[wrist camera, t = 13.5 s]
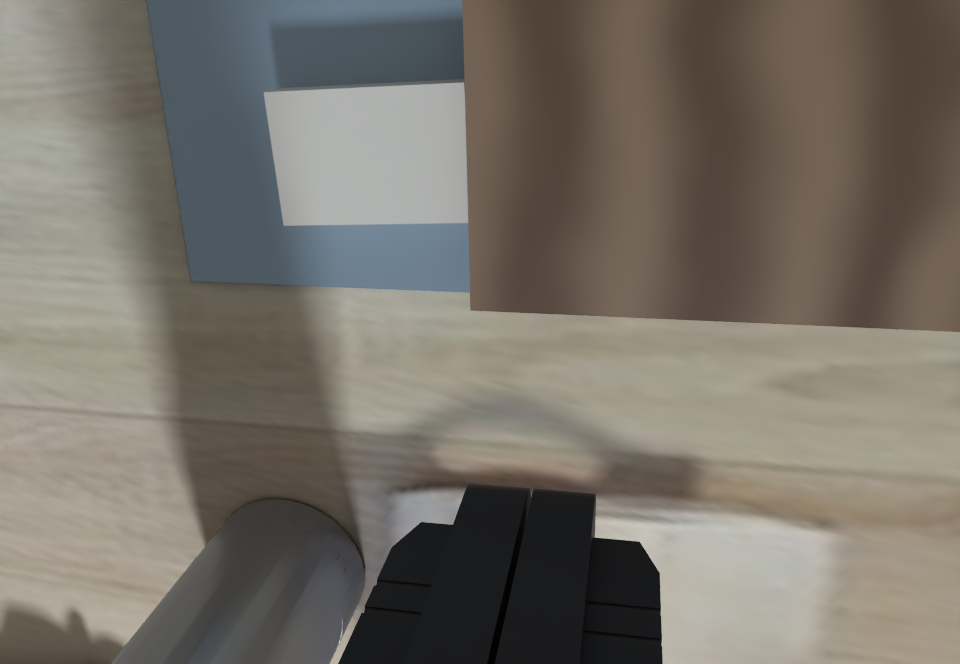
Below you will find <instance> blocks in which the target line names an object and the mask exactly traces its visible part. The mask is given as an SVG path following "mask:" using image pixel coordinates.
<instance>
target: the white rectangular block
mask: <svg viewBox="0 0 960 664" xmlns="http://www.w3.org/2000/svg"><path fill="white" fill-rule="evenodd" d="M264 99H265V106H266V112H267V119H268V125H269V132H270V139H271V145H272V152H273V159H274V165H275V172H276V179H277V185H278V192H279V199H280V205H281V212H282V218H283V225H284V226H304V225H371V224H438V223H468V193H467V155H466V118H465V80H464V79H453V80H433V81H413V82H392V83H372V84H352V85H332V86H311V87H291V88H280V89H275V90H271V91H266V92H264Z"/></svg>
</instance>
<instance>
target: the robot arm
mask: <svg viewBox="0 0 960 664" xmlns="http://www.w3.org/2000/svg"><path fill="white" fill-rule="evenodd" d="M595 510H596V494H592V493H579V492H567V491H555V490H543V489H534V491H533V494H532V498H531V491H530V489H528V488H516V487H503V486H491V485H479V484H469V485H468V486H467V488H466V491H465V493H464V496H463V499H462V502H461V504H460V507H459V510H458V513H457V515H456V518H455V521H454V524H453V525H447V524H436V523H425V522H421V523H420V524H419V525H417V526H416V527H415V528H414V529H413V530H412V531H410V532H409V533H408V534H407V535H406V536H405V537H403V538H402V539H401V540H400V541H399V542H398V543H396V544H395V545H394V546H393V547H392V548H391V550H390V553H389V555H388V557H387V559H386V561H385V563H384V566H383V568H382V570H381V572H380V574H379V576H378V579H377V585H376V586H374V587H373V590H372V592H371V594H370V596H369V598H368V600H367V603H366V605H365V611H364V613H361V616H360V618H359V620H358V622H357V624H356V626H355V629H354V631H353V633H352V635H351V637H350V640H349V642H348V644H347V646H346V648H345V650H344V653H343V655H342V657H341V659H340V661H339V663H338V664H662V647H661V642H662V634H661V616H660V612H661V603H660V573H659V572H658V570H657V568H656V567H655V565H654V564H653V562H652V561H651V559H650V557H649V556H648V554H647V553H646V551H645V550H644V548H643V546H642V545H641V543H640V542H636V541H625V540H614V539H603V538H595ZM364 579H365V573H364V568H363V563H362V559H361V557H360V554H359V552H358V550H357V548H356V546H355V544H354V543H353V541H352V540H351V539H350V537H349V536H348V534H347V533H346V532H345V531H344V530H343V529H342V528H341V527H340V526H339V525H338V524H337V523H336V522H335V521H333V520H332V519H330V518H329V517H327V516H326V515H325V514H323V513H322V512H320V511H318V510H316V509H314V508H311V507H309V506H307V505H305V504H301V503H297V502H294V501H290V500H280V499H268V500H260V501H256V502H253V503H250V504H247V505H244V506H243V507H241V508H240V509H238V510H237V511H235V512H234V513H233V514H232V515H231V516H230V517H229V518H228V519H227V521H226V522H225V523H224V524H223V525H222V527H221V528H220V529H219V530H218V532H217V533H216V534H215V535H214V537H213V538H212V539H211V540H210V541H209V543H208V544H207V545H206V546H205V548H204V549H203V550H202V551H201V553H200V554H199V555H198V556H197V557H196V558H195V560H194V561H193V562H192V563H191V565H190V566H189V567H188V568H187V570H186V571H185V572H184V573H183V575H182V576H181V577H180V578H179V579H178V581H177V582H176V583H175V584H174V586H173V587H172V588H171V589H170V591H169V592H168V593H167V594H166V596H165V597H164V598H163V599H162V601H161V602H160V603H159V604H158V606H157V607H156V608H155V609H154V611H153V612H152V613H151V614H150V616H149V617H148V618H147V619H146V620H145V622H144V623H143V624H142V625H141V627H140V628H139V629H138V630H137V632H136V633H135V634H134V635H133V637H132V638H131V639H130V640H129V642H128V643H127V644H126V645H125V647H124V648H123V649H122V650H121V652H120V653H119V654H118V655H117V656H116V658H115V659H114V660H113V661H112V663H111V664H330V662H331V659H332V657H333V655H334V653H335V651H336V649H337V647H338V645H339V643H340V641H341V639H342V637H343V635H344V633H345V631H346V628H347V626H348V624H349V622H350V620H351V618H352V616H353V614H354V611H355V609H356V607H357V605H358V603H359V601H360V599H361V595H362V592H363V589H364Z"/></svg>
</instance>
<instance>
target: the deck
mask: <svg viewBox="0 0 960 664" xmlns="http://www.w3.org/2000/svg"><path fill="white" fill-rule="evenodd" d="M462 6H463V43H464V80H465V118H466V155H467V193H468V230H469V268H470V305H471V310H474V311H497V312H519V313H542V314H565V315H588V316H611V317H634V318H656V319H679V320H702V321H725V322H748V323H771V324H793V325H816V326H839V327H862V328H885V329H908V330H930V331H953V332H960V0H462Z"/></svg>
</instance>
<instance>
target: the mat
mask: <svg viewBox="0 0 960 664" xmlns="http://www.w3.org/2000/svg"><path fill="white" fill-rule="evenodd" d="M146 1H147V7H148V14H149V20H150V26H151V32H152V39H153V45H154V51H155V58H156V64H157V70H158V76H159V83H160V89H161V95H162V101H163V108H164V114H165V120H166V126H167V133H168V139H169V145H170V152H171V158H172V164H173V170H174V177H175V183H176V189H177V195H178V202H179V208H180V214H181V220H182V227H183V233H184V239H185V246H186V252H187V258H188V264H189V271H190V277H191V281H198V282H223V283H248V284H273V285H298V286H323V287H348V288H373V289H398V290H424V291H449V292H470V268H469V230H468V223H438V224H371V225H304V226H284V225H283V218H282V212H281V205H280V199H279V192H278V185H277V179H276V172H275V165H274V159H273V152H272V145H271V139H270V132H269V125H268V119H267V112H266V106H265V99H264V92H266V91H271V90H275V89H280V88H291V87H311V86H332V85H352V84H372V83H392V82H413V81H433V80H453V79H464V43H463V6H462V0H146Z"/></svg>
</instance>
